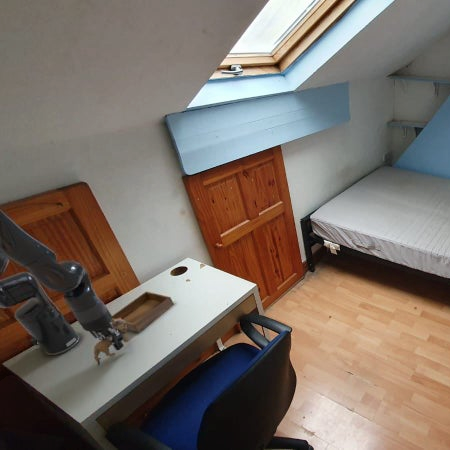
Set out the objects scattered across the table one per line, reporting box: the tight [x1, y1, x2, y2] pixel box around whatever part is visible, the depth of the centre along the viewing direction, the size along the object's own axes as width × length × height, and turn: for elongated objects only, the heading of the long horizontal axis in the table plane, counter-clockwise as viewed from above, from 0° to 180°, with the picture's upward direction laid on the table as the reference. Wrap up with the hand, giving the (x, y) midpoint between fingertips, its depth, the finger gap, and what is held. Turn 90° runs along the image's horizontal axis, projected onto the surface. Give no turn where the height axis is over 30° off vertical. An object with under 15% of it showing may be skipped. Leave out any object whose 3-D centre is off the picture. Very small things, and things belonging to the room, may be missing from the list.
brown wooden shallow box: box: [110, 290, 175, 334], centre depth 129 cm, size 13×16×4 cm
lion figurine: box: [93, 318, 130, 367], centre depth 110 cm, size 15×5×9 cm, turn 1°
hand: (115, 346), depth 112 cm, fingers closed on lion figurine, 4 cm apart
